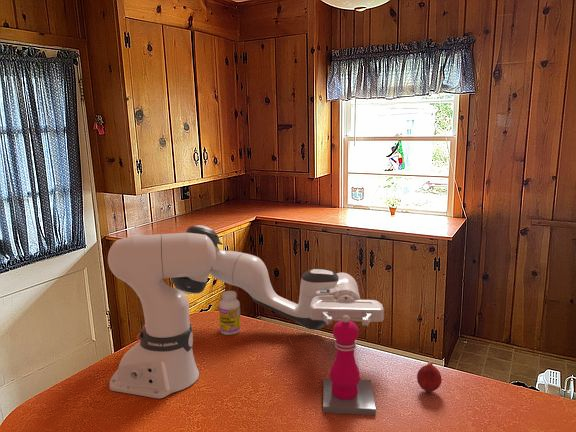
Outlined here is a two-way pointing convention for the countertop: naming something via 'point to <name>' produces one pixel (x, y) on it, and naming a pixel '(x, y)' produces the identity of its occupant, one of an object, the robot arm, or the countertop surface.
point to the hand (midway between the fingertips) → (347, 322)
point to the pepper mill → (345, 360)
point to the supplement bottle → (229, 313)
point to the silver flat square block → (349, 400)
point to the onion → (429, 377)
